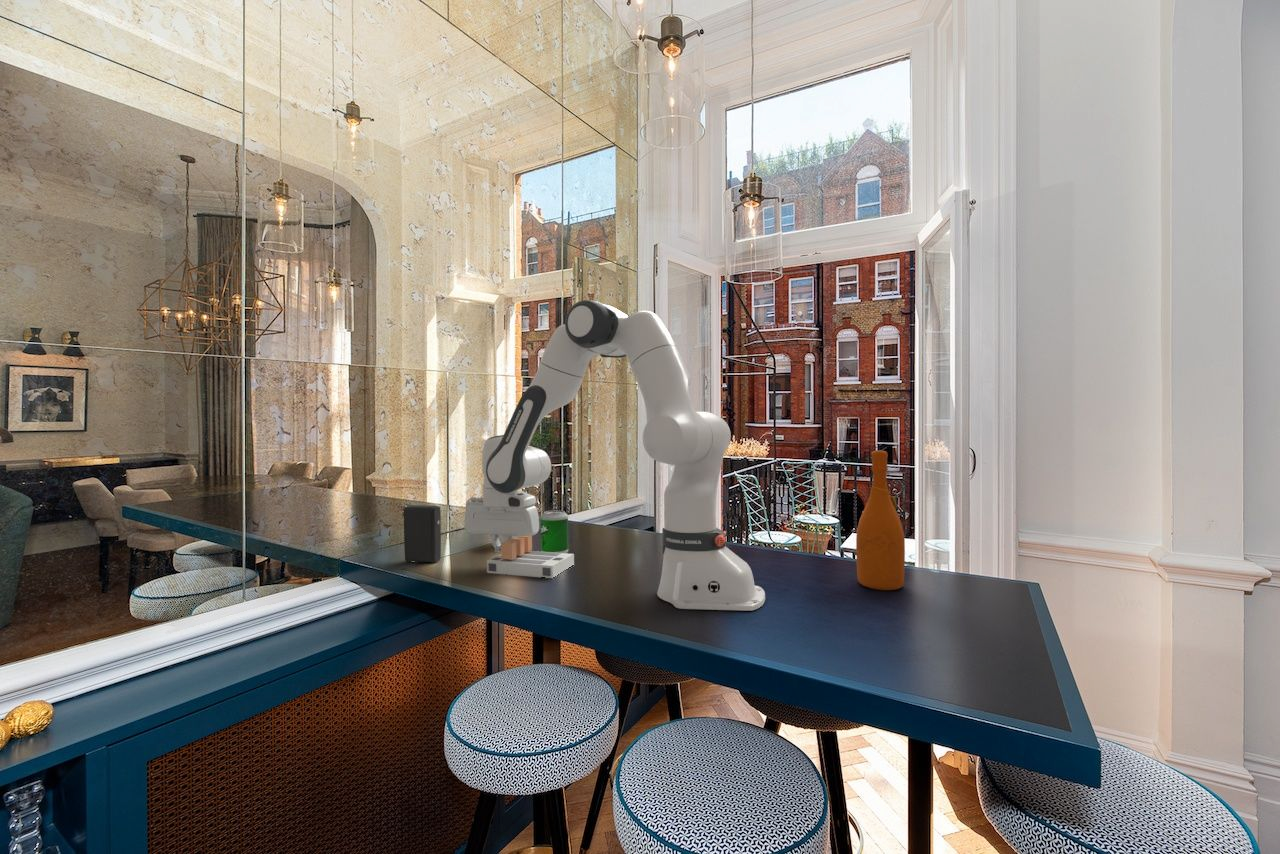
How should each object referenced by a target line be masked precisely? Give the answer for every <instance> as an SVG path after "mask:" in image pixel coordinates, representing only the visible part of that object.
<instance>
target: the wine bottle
mask: <svg viewBox="0 0 1280 854" xmlns="http://www.w3.org/2000/svg"><path fill="white" fill-rule="evenodd" d="M888 456H889V455H888V452H887V451H885V450H882V449H879V450H878V449H877V450H873V451H872V452H871V456H870V457H871V463H872V464H871V471H872V472H873V473H872V486H871V488H870V489H871V490H870V492H869V497H868V500H867V502H866V504H865V507H864V509H863V510H862V512H861V516H860V518H859V521H858V525H857V530H856V535H855V536H856V541H855V542H856V544H855V547H856V549H855V552H856V553H855V554H856V575H857V576H856V577H857V581H858V582H859V584H861V586H864V587H867V588H869V589H872V590H878V591H894V590H895V591H896V590H899V589H901V588H903V586H904V584H905V563H906V555H905V553H906V550H905V549H906V547H905V546H906V545H905V543H906V542H905V532H904V529H903V525H902V522H901V521H902V520H901V519H900V516H899V514H898V512H897V510H896V509H898V506H897V503H896V499H895V496H893V495H891V494H890V490H889V488H888V487H889V486H888V483H887V472H888V469H889V467H888Z"/></svg>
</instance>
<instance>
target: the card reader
mask: <svg viewBox="0 0 1280 854" xmlns="http://www.w3.org/2000/svg"><path fill="white" fill-rule="evenodd" d="M441 518H442V516H441V507H440V506H438V505H429V504H428V505H421V504H420V505H418V504H417V505H416V504H413V505H407V506H405V507H404V508H403V546H404V547H403V548H404V560H405V562H408V561H415V562H414V563H417V562H434V563H437V562H439V561H440V560H441V555H442V549H441V548H442V525H441V522H442V521H441V520H442V519H441Z"/></svg>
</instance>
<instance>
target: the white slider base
mask: <svg viewBox="0 0 1280 854" xmlns="http://www.w3.org/2000/svg"><path fill="white" fill-rule="evenodd" d="M572 565H574V566H575V554H574V553H568V552H567V553H553V552H541V551H539V550H538V551H535V550H532V551H530V552H525V554H524V555H522V556H516V558H515V559H513V560H507V559H501V554H499V555H497V556H494V557H493V558H490V559H488V560H486V573H487V574H494V575H495V574H496V575H506V574H507V576H518V577H519V576H520V577H532V578H541V577H545V578H544V579H554V578H553V577H555V576H556V577H558V576H559V575H561V574H562V573H561V572H563V571H564V570H566V569H568V568H569V567H571V566H572ZM571 568H572V567H571ZM569 569H570V568H569ZM569 569H568V570H569ZM566 571H567V570H566ZM564 572H565V571H564ZM564 572H563V573H564ZM560 573H561V574H560ZM558 574H559V575H558ZM557 575H558V576H557ZM556 577H555V578H556Z"/></svg>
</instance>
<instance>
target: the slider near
mask: <svg viewBox="0 0 1280 854" xmlns="http://www.w3.org/2000/svg"><path fill="white" fill-rule="evenodd" d="M500 555H501V559H507V560H513V559H515V558H516V542H511V541H505V542H502V543H501V552H500Z"/></svg>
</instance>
